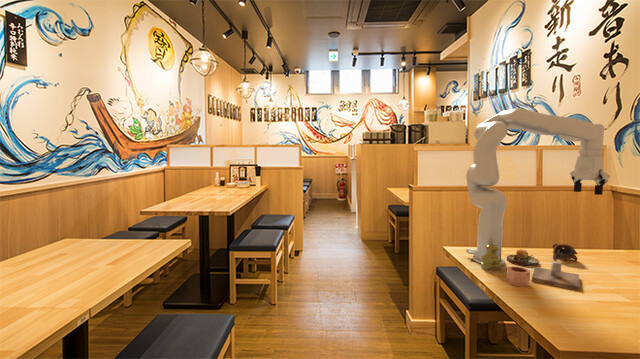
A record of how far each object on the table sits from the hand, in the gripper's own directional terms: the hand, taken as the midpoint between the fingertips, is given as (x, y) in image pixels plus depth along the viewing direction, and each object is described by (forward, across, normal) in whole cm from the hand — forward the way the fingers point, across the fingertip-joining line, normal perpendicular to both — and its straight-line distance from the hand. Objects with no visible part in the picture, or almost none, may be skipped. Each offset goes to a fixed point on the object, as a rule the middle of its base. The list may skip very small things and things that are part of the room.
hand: (587, 193), depth 144 cm
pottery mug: (+30, -2, -8) cm, 31 cm away
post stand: (+30, +18, -30) cm, 46 cm away
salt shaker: (+30, +4, -46) cm, 55 cm away
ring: (+30, +19, -46) cm, 58 cm away
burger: (+31, -2, -28) cm, 41 cm away
